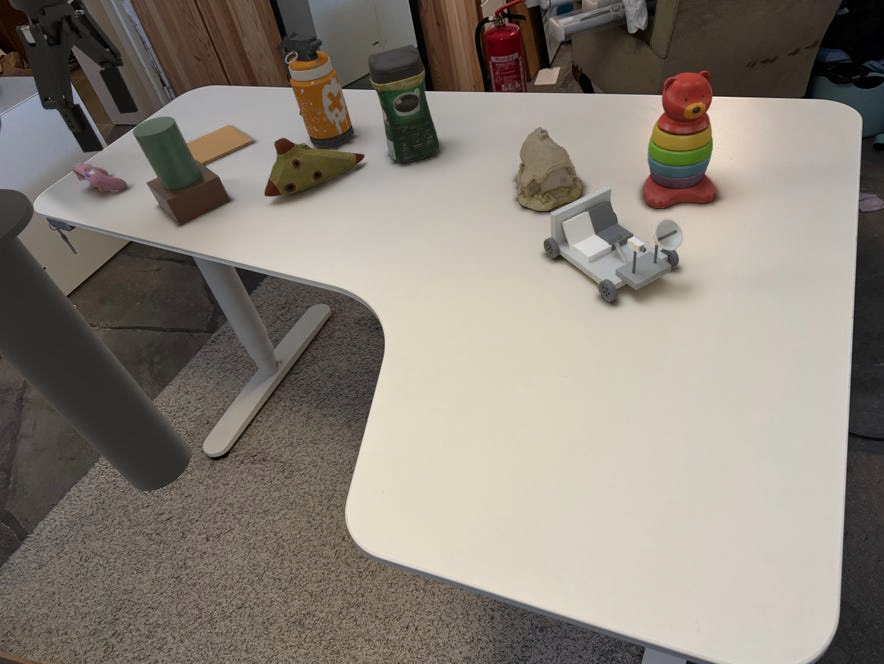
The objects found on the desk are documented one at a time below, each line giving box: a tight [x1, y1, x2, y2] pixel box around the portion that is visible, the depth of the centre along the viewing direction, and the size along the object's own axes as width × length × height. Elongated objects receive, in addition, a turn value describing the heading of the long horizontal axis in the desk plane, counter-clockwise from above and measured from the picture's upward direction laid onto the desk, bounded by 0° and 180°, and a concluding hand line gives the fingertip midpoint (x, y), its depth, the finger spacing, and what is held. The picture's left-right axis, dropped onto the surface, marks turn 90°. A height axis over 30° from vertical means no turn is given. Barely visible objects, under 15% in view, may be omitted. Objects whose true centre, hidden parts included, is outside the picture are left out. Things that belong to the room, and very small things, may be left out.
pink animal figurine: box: [71, 162, 128, 193], centre depth 119 cm, size 10×5×7 cm, turn 50°
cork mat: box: [186, 124, 254, 166], centre depth 128 cm, size 12×12×1 cm
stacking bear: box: [642, 70, 717, 209], centre depth 90 cm, size 11×10×18 cm
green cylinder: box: [132, 116, 201, 190], centre depth 105 cm, size 7×7×10 cm
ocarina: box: [264, 137, 366, 198], centre depth 108 cm, size 20×5×10 cm, turn 125°
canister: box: [275, 31, 355, 148], centre depth 117 cm, size 9×11×20 cm
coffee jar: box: [367, 44, 440, 164], centre depth 109 cm, size 10×8×19 cm
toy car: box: [543, 185, 684, 303], centre depth 82 cm, size 18×10×12 cm
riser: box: [146, 160, 231, 226], centre depth 111 cm, size 10×10×5 cm
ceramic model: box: [516, 126, 583, 212], centre depth 98 cm, size 14×11×10 cm
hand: (112, 130), depth 92 cm, fingers open, 13 cm apart
